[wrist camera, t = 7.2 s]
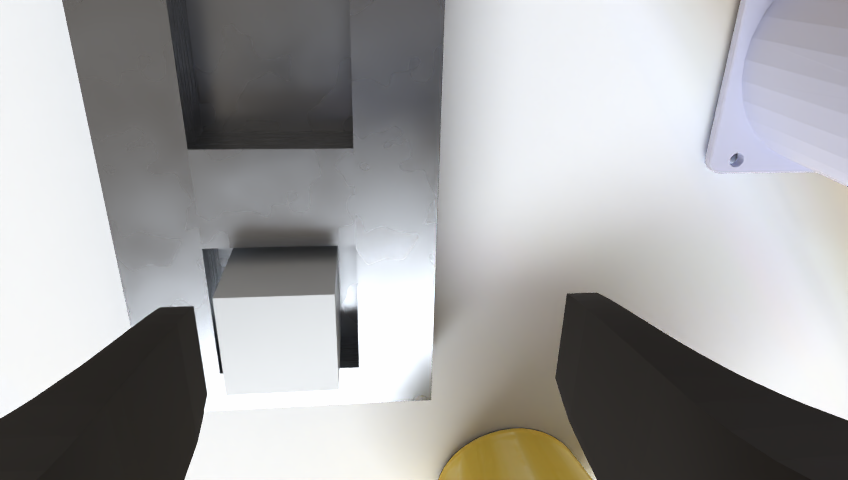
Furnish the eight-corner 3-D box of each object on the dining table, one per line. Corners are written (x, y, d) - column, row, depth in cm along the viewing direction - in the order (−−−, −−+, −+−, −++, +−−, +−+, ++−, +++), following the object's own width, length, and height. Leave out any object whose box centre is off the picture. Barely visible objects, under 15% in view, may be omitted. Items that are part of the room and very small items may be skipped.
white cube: (337, 237, 22) (334, 294, 18) (341, 321, 23) (339, 389, 20) (236, 240, 21) (212, 298, 18) (246, 325, 23) (226, 395, 19)
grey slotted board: (446, -461, 15) (463, -535, 13) (423, 359, 25) (430, 399, 23) (5, -504, 14) (-63, -593, 11) (168, 370, 24) (149, 413, 22)
